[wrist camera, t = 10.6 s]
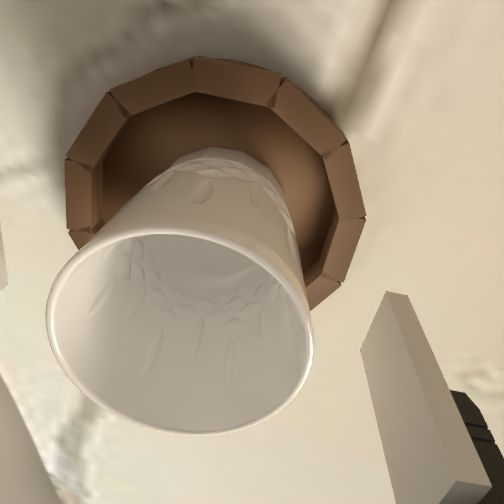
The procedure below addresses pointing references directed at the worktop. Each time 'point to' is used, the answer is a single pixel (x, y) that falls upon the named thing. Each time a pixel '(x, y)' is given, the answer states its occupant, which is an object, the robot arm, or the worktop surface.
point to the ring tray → (229, 137)
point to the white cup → (189, 302)
